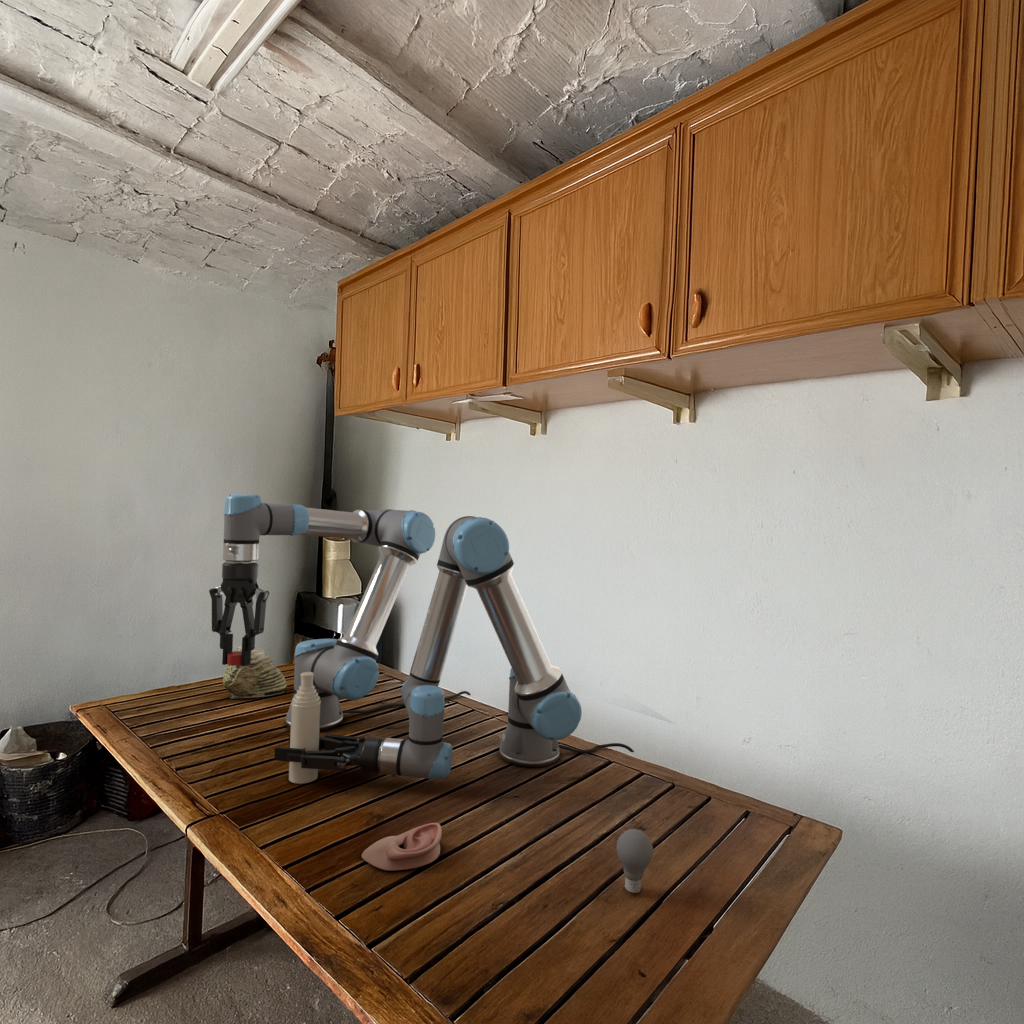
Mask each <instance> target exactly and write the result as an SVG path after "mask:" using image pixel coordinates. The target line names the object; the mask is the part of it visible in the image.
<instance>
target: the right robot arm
mask: <svg viewBox="0 0 1024 1024" xmlns="http://www.w3.org/2000/svg"><path fill="white" fill-rule="evenodd" d="M443 535H444V536H443V539H442V544H441V548H440V552H439V556H438V559H437V564H436V567H437V569H438V575H437V578H436V581H435V584H434V589H433V592H432V595H431V599H430V602H429V606H428V609H427V612H426V615H425V619H424V622H423V627H422V629H421V632H420V636H419V640H418V642H417V643H418V644H417V646H416V650H415V653H414V656H413V660H412V663H411V667H410V671H409V674H408V677H407V679H406V680H405V682H404V683H403V684H402V686H401V701H402V703H404V704H405V706H404V707H405V711H406V713H407V716H408V721H409V722H408V739H404V738H394V737H393V738H391V737H386V738H385V739H384V738H383V737H377V736H368V737H366V736H349V735H341V734H333V733H332V734H331V733H324V736H323V735H321V736H319V751H305V748H303V749H297V748H290V735H288V747H285V746H275V747H274V758H273V759H274V761H278V762H287V763H289V762H300V763H301V768H307V769H318V770H328V771H329V770H330V771H338V772H343V773H345V772H346V771H347V767H353V766H359V767H360V770H361V772H362V773H363V774H372V775H373V774H375V775H378V774H379V773H380V774H381V775H387V776H388V775H389V776H392V777H393V778H394V777H398V776H400V777H410V778H419V779H426V780H443V779H447V778H448V776H449V775H450V773H451V769H452V765H453V746H452V744H451V743H449V742H446V741H444V718H445V708H446V701H444V698H445V692H444V689H442V688H441V687H439V686H440V683H441V678H442V675H443V672H444V668H445V666H446V661H447V658H448V655H449V651H450V647H451V644H452V641H453V638H454V634H455V631H456V627H457V624H458V620H459V616H460V614H461V610H462V606H463V603H464V600H465V596H466V593H467V590H468V587H469V588H472V589H475V590H476V592H477V594H478V596H479V598H480V601H481V603H482V606H483V607H484V610H485V612H486V614H487V616H488V618H489V620H490V623H491V625H492V627H493V629H494V632H495V634H496V636H497V638H498V640H499V643H500V645H501V647H502V649H503V652H504V654H505V657H506V658H507V660H508V663H509V665H510V667H511V668H510V671H509V677H508V681H509V684H508V685H509V686H508V688H509V689H508V709H507V724H506V727H505V730H504V731H503V733H502V735H501V741H500V743H499V751H498V752H499V753H498V754H499V757H500V758H501V759H502V760H504V761H505V762H507V763H509V764H511V765H514V766H519V767H526V768H540V767H541V768H542V767H547V766H550V765H553V764H556V762H558V761H559V759H560V754H561V752H560V749H562V750H566V751H570V752H572V753H577V754H591V753H593V752H595V751H596V750H599V749H605V748H613V747H619V748H624V749H626V750H628V751H629V752H630V753H635V750H634V749H633V748H631V747H630V746H628V745H627V744H625V743H620V742H613V743H611V742H610V743H603V744H597V745H595V746H593V747H592V748H588V749H577V748H573V747H570V746H566V745H563V744H559V741H561V740H564V739H566V738H568V737H569V736H571V735H572V734H573V733H574V732H575V731H576V730H577V729H578V727H579V724H580V722H581V719H582V716H583V715H582V713H583V712H582V711H583V710H582V704H581V702H580V701H579V699H578V697H577V695H575V694H574V693H573V692H572V691H571V690H570V688H569V686H568V684H567V681H566V679H565V677H564V675H563V673H562V670H561V668H560V667H558V666H555V665H552V664H551V661H550V659H549V656H548V654H547V652H546V650H545V647H544V645H543V643H542V641H541V638H540V636H539V634H538V632H537V630H536V627H535V624H534V622H533V620H532V617H531V616H530V612H529V611H528V608H527V605H525V602H524V600H523V597H522V595H521V592H520V591H519V588H518V585H517V584H516V582H515V579H514V577H513V574H512V573H513V571H514V568H515V562H514V560H513V557H512V555H511V553H510V541H509V537H508V536H507V533H506V531H505V530H504V529H503V528H502V526H500V525H499V524H498V523H497V522H495V521H494V520H492V519H489V518H487V517H481V516H480V517H479V516H473V515H466V516H461V517H458V518H457V519H455V520H454V521H453V522H451V523H450V524H449V526H448V527H447V528H446V531H445V533H444V534H443Z"/></svg>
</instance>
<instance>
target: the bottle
mask: <svg viewBox="0 0 1024 1024" xmlns="http://www.w3.org/2000/svg"><path fill="white" fill-rule="evenodd" d="M313 676H314V673H313V672H303V673H301V676H300V677H301V686H300V687H299V690H297V693H296V694H295V697H294V698H293V697H292V699H293V700H292V699H291V702H292V703H291V702H290V704H291V727H290V729H289V730H290V732H289V736H290V748H297V749H303V748H305V751H319V737H320V735H321V734H320V732H321V731H320V709H321V701H320V697H319V696H318V693H317V692H316V689H315V686H313ZM318 777H319V769H307V768H301V763H300V762H288V781H289V782H290V783H293V784H297V785H298V784H308V783H312V782H314V781H316V780H317V779H318Z"/></svg>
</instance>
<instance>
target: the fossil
mask: <svg viewBox="0 0 1024 1024" xmlns="http://www.w3.org/2000/svg"><path fill="white" fill-rule="evenodd" d="M234 651H242V646H238V647H237V648H236V649H235V650H234ZM222 676H223V677H222V685H223V687H224V688H225V690H226V691H228V693H229V698H230V699H250V698H264V697H271V696H275V695H281V694H284V693H285V691H286V689H287V687H288V686H287V680H286V678H285V676H284V674H283V673H282V672H281V669H279V668H278V667H277V665H276V663H275V662H274V660H273V659H272V658H271V657H270V656H269V655H268V654H267V653H266V652H265V650H264V649H263V648H260V647H258V648H254V650H252V651H251V663H250V664H248V665H246V666H241V665H238V666H231V665H228V664H226V666H225V668H224V671H223V675H222Z"/></svg>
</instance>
